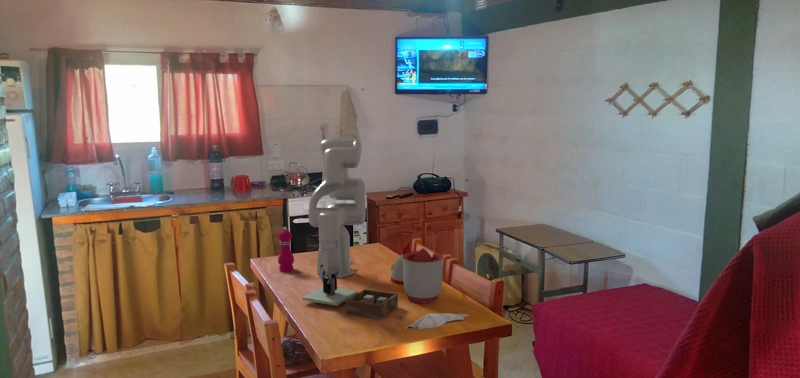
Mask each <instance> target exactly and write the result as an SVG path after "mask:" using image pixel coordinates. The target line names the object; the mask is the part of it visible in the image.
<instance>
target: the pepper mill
mask: <svg viewBox="0 0 800 378" xmlns="http://www.w3.org/2000/svg"><path fill="white" fill-rule="evenodd" d="M292 238H293V234H292V231H290V230H289V229H288V227H286V226H284V227H282V230H280V232H278V240H279V245H280V252H279V255H278V258H277V263H278V265H279V266H278V268H279V269H278V270H279V271H280V272H283V273H284V272H285V273H288V272H292V271H294V265H293V264H294V263H295V257H294V255H293V252H292V250H291V244H292V241H291V239H292Z"/></svg>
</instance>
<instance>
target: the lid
mask: <svg viewBox="0 0 800 378" xmlns="http://www.w3.org/2000/svg"><path fill="white" fill-rule="evenodd" d="M330 283H331V293H330V294H328V293H324V292H323V286H321V287H319V288H318V289H315V290H314V291H312V292H310V293H308V294H306V295H304V296H302V301H306V302H307V301H308V302H313V303H317V304H318V303H319V304H324V305H331V306H336V307H338V306H339V305H342V303H344V302H346V300H347V299H349V298H350V297H352V296H354V295H355V294H357V293H358V290H355V289H349V288H348V289H347V288H341V287H337V290H335V278H332V277H330Z"/></svg>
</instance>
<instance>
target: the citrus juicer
mask: <svg viewBox="0 0 800 378" xmlns="http://www.w3.org/2000/svg"><path fill="white" fill-rule="evenodd" d="M443 259H444V255H443V254H441V253H439V252H436V251H435V252H434V253H433V254H432V256H431V254H430V253H429V252H428V250H427V249H425V248H424V247H423V248H421V249H420V250H417V251H411V252H409V253H406V254H404V255H403V280H404V285H403V286H404V291H405V294H406V297H407V298H408V300H409V301H411V302H414V303H417V304H418V303H423V304H425V303H426V304H430V303H433V302H436V301H437V300H438V299H439V297H440V294H441V290H442V288H443V287H442V286H443V278H444V277H443V269H444V267H443V264H444V263H443V262H444V260H443Z"/></svg>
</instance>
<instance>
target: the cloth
mask: <svg viewBox="0 0 800 378" xmlns="http://www.w3.org/2000/svg"><path fill="white" fill-rule="evenodd" d="M469 316H470V315H469V314H465V313H458V314H457V313H428V314H426V315H423V316H421V317H420V319H419V318H418V319H416V320H415V321H413V322H412V324H409V325H406V326H405V327H404V330H406V329H408V328H409V327H410V328H415V329H416V328H418V330H423V329H431V328H437V327H441V326H444V325H445V324H446V323H448V322H449V323H450V322H455V321H462V320H463V321H465V317H469Z"/></svg>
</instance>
